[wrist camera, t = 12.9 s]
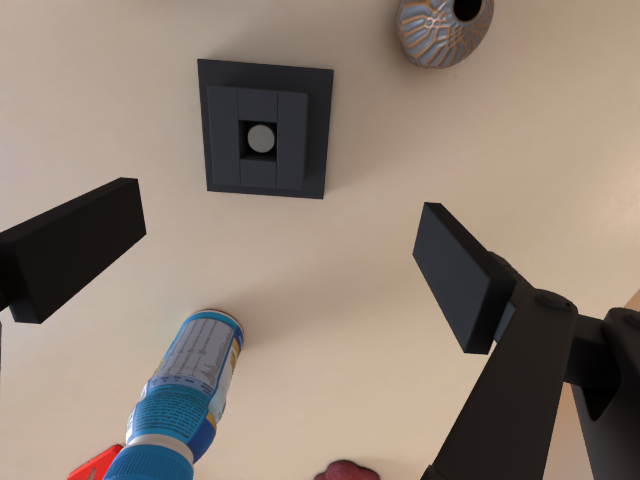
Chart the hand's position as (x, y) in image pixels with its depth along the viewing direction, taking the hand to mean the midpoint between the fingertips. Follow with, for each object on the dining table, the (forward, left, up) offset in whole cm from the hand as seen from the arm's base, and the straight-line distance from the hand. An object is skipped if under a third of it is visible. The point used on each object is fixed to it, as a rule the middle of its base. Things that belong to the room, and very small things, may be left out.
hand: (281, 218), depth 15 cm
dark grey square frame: (-1, -4, -18) cm, 19 cm away
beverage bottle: (+25, -11, -20) cm, 34 cm away
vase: (-11, +10, -20) cm, 25 cm away
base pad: (-1, -4, -20) cm, 20 cm away
